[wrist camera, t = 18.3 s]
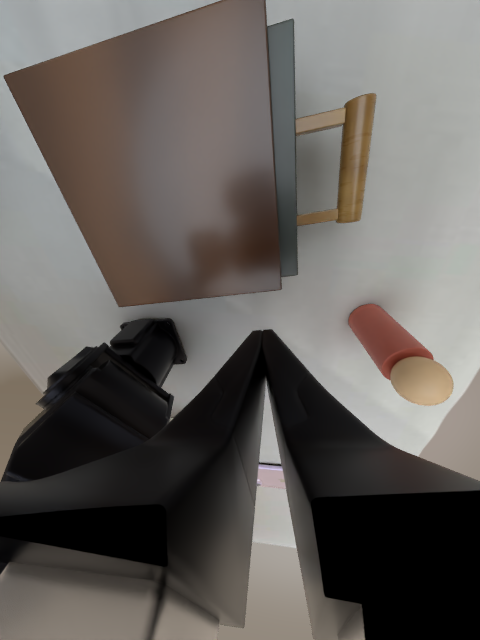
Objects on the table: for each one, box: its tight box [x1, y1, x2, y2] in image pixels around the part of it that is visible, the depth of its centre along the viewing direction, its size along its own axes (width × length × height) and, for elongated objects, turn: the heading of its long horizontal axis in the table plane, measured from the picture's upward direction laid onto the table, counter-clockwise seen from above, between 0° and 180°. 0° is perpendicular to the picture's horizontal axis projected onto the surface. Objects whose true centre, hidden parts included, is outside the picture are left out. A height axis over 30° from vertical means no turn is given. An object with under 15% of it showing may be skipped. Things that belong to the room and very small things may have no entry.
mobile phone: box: [257, 464, 286, 489], centre depth 39 cm, size 8×1×15 cm
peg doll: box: [348, 304, 453, 406], centre depth 17 cm, size 3×3×10 cm
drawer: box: [267, 19, 376, 277], centre depth 14 cm, size 15×11×4 cm
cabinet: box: [4, 0, 282, 307], centre depth 14 cm, size 13×13×6 cm
